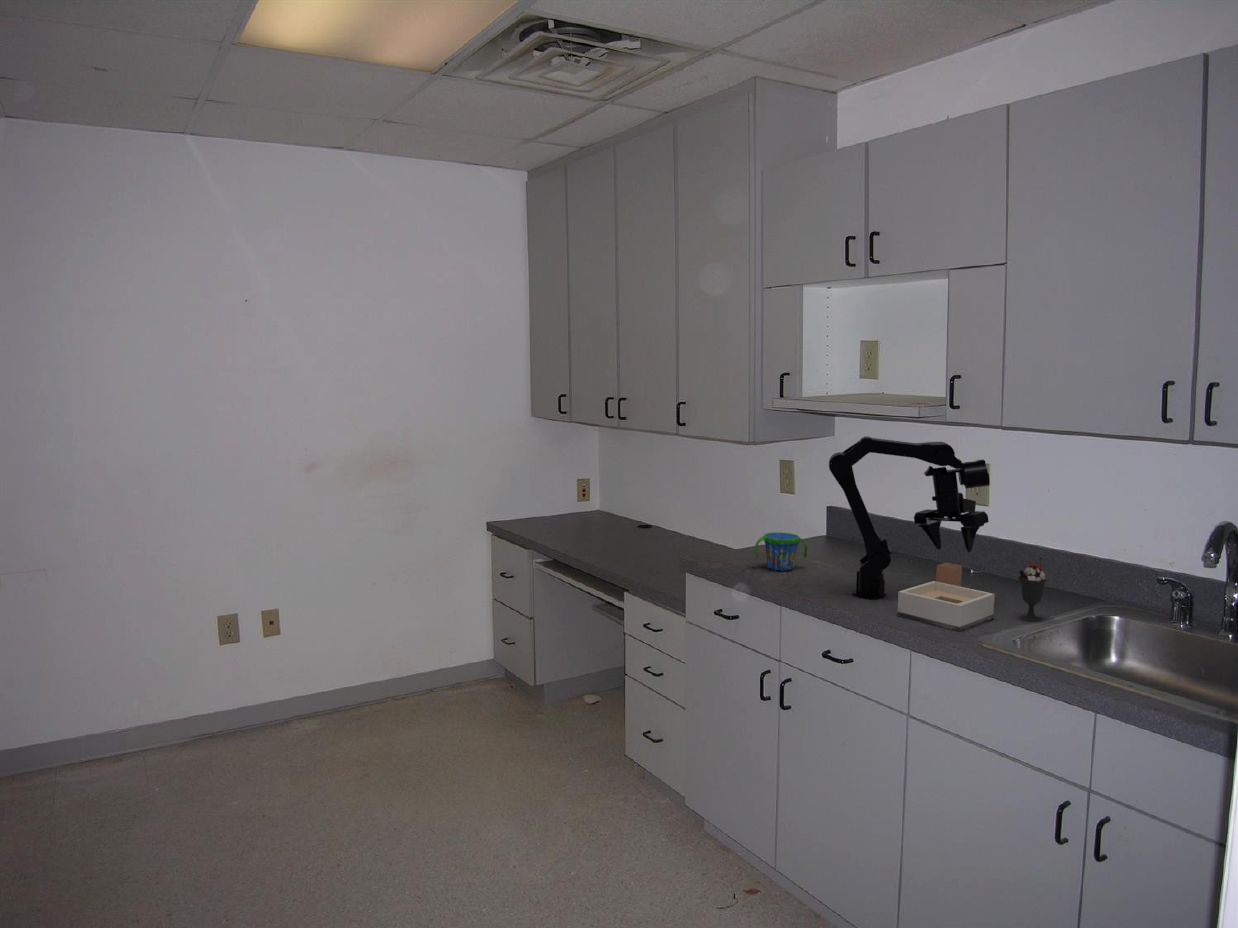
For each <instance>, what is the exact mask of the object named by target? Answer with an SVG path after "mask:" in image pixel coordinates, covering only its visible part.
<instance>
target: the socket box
mask: <svg viewBox="0 0 1238 928" xmlns="http://www.w3.org/2000/svg"><path fill="white" fill-rule="evenodd" d="M995 596H996V595H995V593H991V592H987V591H983V590H978V589H972V588H968V587H964V586H961V587H959V586H955V585H950V584H945V583H941V582H936V581H935V580H933V581H929V582H926V583H925V582H924V583H923V584H918V585H916V586H913V587H909V588H906V589H903V590H902V589H901V590H900V591H899V590H898V594H897V597H898V598H897V600H898V601H897V613H896V614H897V615H900V616H899V617H901V616H903V617H902V618H905V619H909V620H913V619H915V620H914V621H917V620H918V621H917V622H921V621H922V622H921V623H925V624H929V625H933V624H934V625H933V626H937V627H940V626H941V628H945V629H948V630H952V629H954V630H953V631H957V632H962V631H964V630H966V629H968V628H972V627H974V626H977V625H979V624H981V623H984V621H985V622H987V621H990V620H992V619H994V613H995ZM989 619H990V620H989ZM986 620H987V621H986ZM976 624H977V625H976ZM973 625H974V626H973ZM971 626H972V627H971ZM963 629H964V630H963Z"/></svg>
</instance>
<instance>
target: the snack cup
mask: <svg viewBox="0 0 1238 928" xmlns="http://www.w3.org/2000/svg"><path fill="white" fill-rule="evenodd" d="M762 541H764V544H765V545H764V546H765V555H766V562H767V564H766V565H767V568H768V569H769V568H771V569H770V570H772V569H774V570H773V571H776V570H781V571H780V572H785V571H788V570H790V571H791V569H792V570H793V569H794V566H795V562H796V555H797V551H798V546H799V543H800V541H801V542H802V543H803V544H804V547H805V548H804V553H803V558H804V559H807V558H808V553H809V548H808V545H807V542H806V540H804V539H803V538H801V537H800V536H799V535H798V534H796V533H791V532H778V531H777V532H776V531H775V532H768V533H764V534H763V536H761V537H759V539H758V540H757V541H756V543H755V545H754V555H755V558H756V559H758V558H759V555H758V553H759V543H761V542H762Z"/></svg>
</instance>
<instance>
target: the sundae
mask: <svg viewBox="0 0 1238 928" xmlns="http://www.w3.org/2000/svg"><path fill="white" fill-rule="evenodd" d="M1043 559H1044V558H1043V557H1039V559H1038V561H1039V563H1041V562H1042V560H1043ZM1038 561H1036V562H1035V563H1031V564H1030V566H1027V567H1026V568H1025V569H1024V570H1023V569H1020V570H1019V571H1018V572H1019V575H1018V576H1017V578H1018V580H1019V581H1020V584H1021V593H1022V594H1021V595H1022V599H1023V601H1024V602H1025V603H1026V604H1027V606H1028V609H1027V610H1028V611H1027V613H1026V614H1025V615H1024V614H1023V615H1020V616H1019V619H1020V620H1022V621H1024V622H1025V621H1026V622H1031V623H1032V622H1033V623H1037V622H1036V621H1040V622H1042V621H1041V619H1042V618H1041V617H1040V616H1037V615H1036V614H1035V610H1034V609H1035V605H1038V604H1039V603H1040V602H1041V601H1042V597H1043V594H1044V589H1045V585H1046V582H1048V581H1049V579H1048V578H1046V577H1047V576H1046V574H1045V572H1044V571H1043V567H1042V565H1041V564H1039V566H1037V564H1038Z"/></svg>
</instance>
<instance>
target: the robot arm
mask: <svg viewBox="0 0 1238 928" xmlns="http://www.w3.org/2000/svg"><path fill="white" fill-rule="evenodd" d="M869 453H872V454H880V455H888V456H896V457H903V458H912V459H917V460H920V461H922V462H926V463H929V464H932V465H935V466H939V467H933V466H931V465H929V466H928V468H927V469H926V470H925V471H924V473H923V475H924V476H925V477H932V482H933V488H934V489H933V490H934V496H932V497H931V500H932V501H933V502H935V506H936V509H928V508H927V509H922V510H920V511H917V512H915V513H914V515H913V521H914V524H915V525H916V524H917V525H918V527H919V528H921V529H922V530H923V531H924V533H925V534H926V535H927V536H928V537H929V539H930V540H931V542H932V543H933V545H934V547H935V548H936V550H941V549H942V542H941V541H942V540H941V532H940V530H941V529H940V527H941V524H942V522H956V523H960V524H961V525H962V526H961V527H960V532H961V534H962V538H963V542H964V546H965V549H966V551H967V553H970V552H972V550H973V546H974V543H975V538H976V535H977V533H978V530H979V529H980V528H981V527H983V526H984V525H985V524H988V523H990V522H989V521H990V520H989V515H988V513H986V511H985V510H984V511H979V510H977V511H976V504H977V500H972V499H968V498H964V495H963V492H959V487H958V486H959V485H960V486H963V487H964V488H965V489H972V488H973V489H974V488H981V487H990V485H991V484H990V482H991V480H990V479H991V478H990V473H989V471H988V468H987V464H986V460H985V459H977V460H975V461H974V460H973V461H967V462H962V460H961V459H960V458H958V457H956V454H955V453H956V452H955V450H954V448H953V447H952V446H951V445H949V444H948V443H946V442H945V441H927V442H926V441H925V442H909V441H900V440H893V439H884V438H876V437H871V436H865V435H864V436H863V437H861V438H860V440H858V441H857V442H855V443H853V444H852V445H850V446H849V447H848V448H846V449H845V450H844V451H842V452H840V451H839V452H836V453H833V454H831V456H830V458H829V460H828V468H829V471H830V472H831V474H832V476H833V478H834V479H835V481H837V484H838V485H839V486H840V488H841V489H842V491H843V492H844V495H845V496H844V497H846V500H847V502H848V505H849V507H850V510H851V512H852V514H853V516H854V520H855V522H856V524H857V526H858V529H859V531H860V534H861V536H862V539H863V543H864V548H865V552H866V554H865V555H863V557H861V558H860V559H859V560H858V567H859V570H856V579H855V580H856V586H855V591H853V592H852V593H851V594H852V595H853V596H856V597H860V598H866V599H870V600H877V599H880V598H882V597H885V596H887V593H886V592H885V587H886V580H885V579H884V575H885V573H883V571H884V570H885V569H887V568H888V567H889V566H890V564H891V562H892V558H891V557H892V556H891V555H892V554H893V552H892V549H891V546H889V544H888V542H887V541H888V540H887V537H886V535H882V536H880V535H879V533H878V532H877V530H876V529H875V526H874V524H873V522H872V519H871V517H870V515H869V512H868V510H867V507H866V505H865V502H864V500H863V498H862V496H861V493H860V491H859V489H858V485H857V484H856V483H857V482H856V478H855V473H854V469H853V466H854V465H855V464H857V463H859V462H860V460H862V459H863V458H864V457H865V456H866V455H868V454H869ZM946 466H947V467H948V466H949V467H950V468H952V469H947V467H946ZM957 473H958V474H957ZM957 475H958V477H957ZM958 482H959V485H958Z"/></svg>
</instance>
